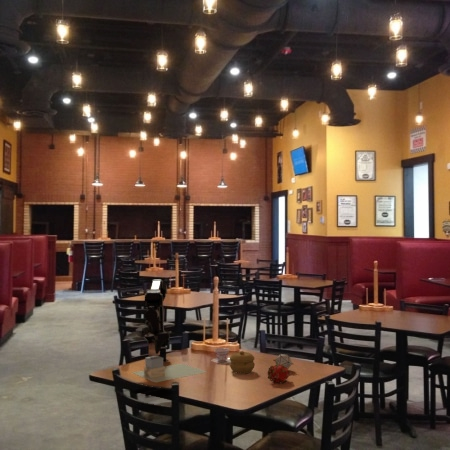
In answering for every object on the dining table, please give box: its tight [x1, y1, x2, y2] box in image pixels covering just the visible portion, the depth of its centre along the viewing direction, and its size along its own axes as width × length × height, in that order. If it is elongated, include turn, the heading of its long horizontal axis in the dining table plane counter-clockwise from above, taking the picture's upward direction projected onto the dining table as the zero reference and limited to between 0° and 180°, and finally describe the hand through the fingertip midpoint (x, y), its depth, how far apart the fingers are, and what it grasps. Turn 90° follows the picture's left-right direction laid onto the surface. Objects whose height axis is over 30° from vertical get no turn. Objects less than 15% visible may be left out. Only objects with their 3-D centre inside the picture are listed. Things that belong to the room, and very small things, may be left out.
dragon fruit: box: [267, 364, 290, 384], centre depth 228 cm, size 8×8×12 cm
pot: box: [229, 350, 256, 375], centre depth 245 cm, size 12×12×10 cm
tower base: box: [143, 365, 166, 378], centre depth 241 cm, size 7×7×4 cm
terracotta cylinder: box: [148, 343, 160, 357], centre depth 241 cm, size 5×5×5 cm
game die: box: [273, 352, 294, 369], centre depth 247 cm, size 9×8×10 cm
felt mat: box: [131, 362, 207, 383], centre depth 246 cm, size 22×28×1 cm
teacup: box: [210, 347, 231, 365], centre depth 267 cm, size 12×12×6 cm
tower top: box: [144, 356, 164, 369], centre depth 241 cm, size 6×6×4 cm
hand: (154, 352), depth 241 cm, fingers closed on terracotta cylinder, 5 cm apart
